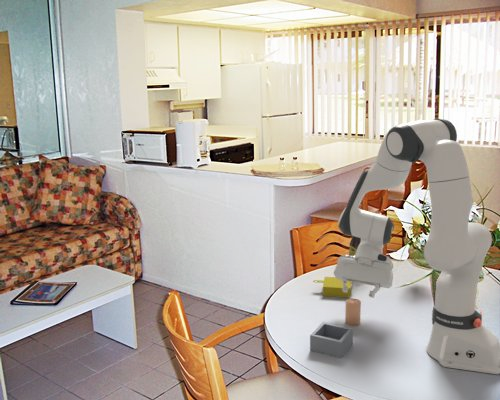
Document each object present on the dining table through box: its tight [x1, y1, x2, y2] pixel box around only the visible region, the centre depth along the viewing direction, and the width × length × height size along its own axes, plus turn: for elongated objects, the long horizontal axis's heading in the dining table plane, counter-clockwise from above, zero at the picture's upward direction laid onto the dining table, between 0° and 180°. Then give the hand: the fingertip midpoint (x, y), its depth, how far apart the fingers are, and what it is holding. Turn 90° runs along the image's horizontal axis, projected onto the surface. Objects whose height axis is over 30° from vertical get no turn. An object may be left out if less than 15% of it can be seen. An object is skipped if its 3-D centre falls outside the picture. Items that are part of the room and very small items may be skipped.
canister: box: [344, 298, 362, 327], centre depth 185 cm, size 5×5×8 cm
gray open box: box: [309, 321, 354, 359], centre depth 169 cm, size 10×10×5 cm
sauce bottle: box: [348, 236, 361, 256], centre depth 229 cm, size 7×6×20 cm
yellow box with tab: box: [312, 276, 354, 298], centre depth 211 cm, size 16×8×15 cm
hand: (357, 294), depth 188 cm, fingers open, 8 cm apart
